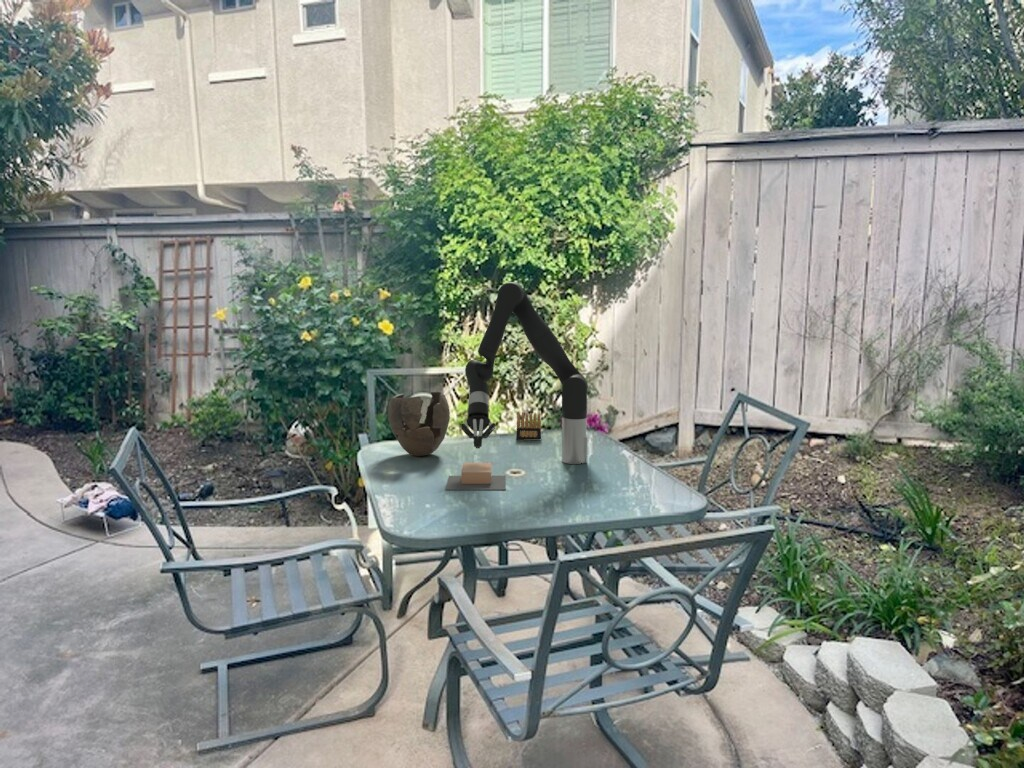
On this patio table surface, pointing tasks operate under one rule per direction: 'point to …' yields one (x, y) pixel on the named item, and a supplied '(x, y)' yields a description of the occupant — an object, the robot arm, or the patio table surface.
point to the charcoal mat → (496, 484)
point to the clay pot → (415, 434)
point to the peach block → (476, 473)
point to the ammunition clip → (528, 427)
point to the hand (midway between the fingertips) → (477, 447)
